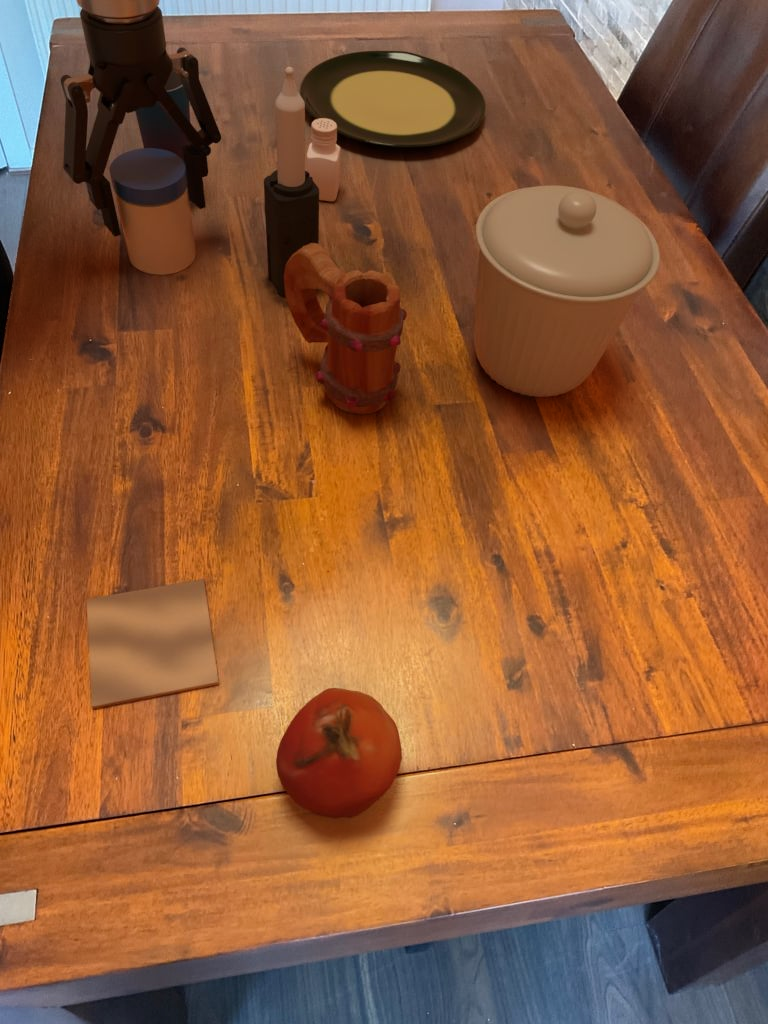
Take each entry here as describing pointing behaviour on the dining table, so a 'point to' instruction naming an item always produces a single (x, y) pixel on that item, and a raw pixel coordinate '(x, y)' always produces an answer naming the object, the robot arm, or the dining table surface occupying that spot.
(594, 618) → the dining table surface
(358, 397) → the mug
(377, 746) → the tomato
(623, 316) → the canister
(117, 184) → the lid
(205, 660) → the coaster
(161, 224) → the jar
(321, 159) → the salt shaker
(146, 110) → the cup
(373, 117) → the plate
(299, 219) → the candle
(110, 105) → the robot arm
